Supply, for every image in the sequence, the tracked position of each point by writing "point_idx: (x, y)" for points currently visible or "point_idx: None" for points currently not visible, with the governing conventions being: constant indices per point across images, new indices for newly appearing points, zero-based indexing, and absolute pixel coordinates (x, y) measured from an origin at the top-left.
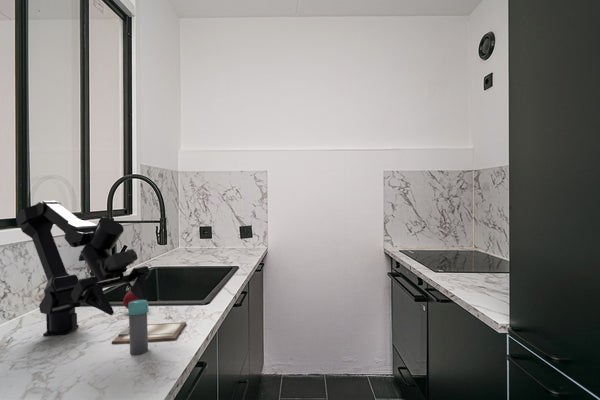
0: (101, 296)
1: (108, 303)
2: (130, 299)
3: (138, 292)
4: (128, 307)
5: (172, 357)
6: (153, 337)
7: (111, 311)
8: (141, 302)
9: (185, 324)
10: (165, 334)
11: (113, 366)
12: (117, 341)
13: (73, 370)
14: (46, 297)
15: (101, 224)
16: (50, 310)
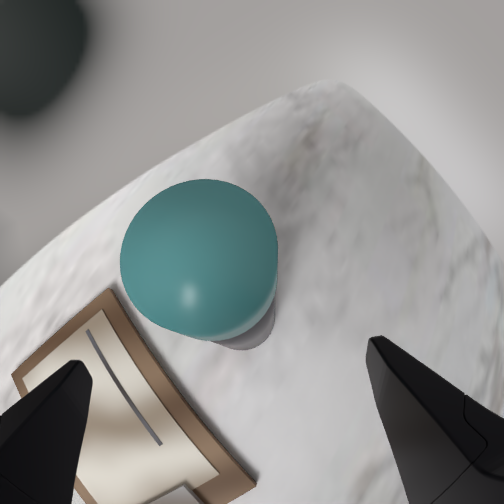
0: (493, 430)
1: (417, 383)
2: None
3: (43, 466)
4: (273, 283)
5: (215, 178)
6: (140, 369)
7: (388, 341)
8: (188, 208)
9: (19, 370)
10: (103, 347)
11: (360, 277)
12: (241, 469)
13: (441, 358)
14: None
15: None
16: None
